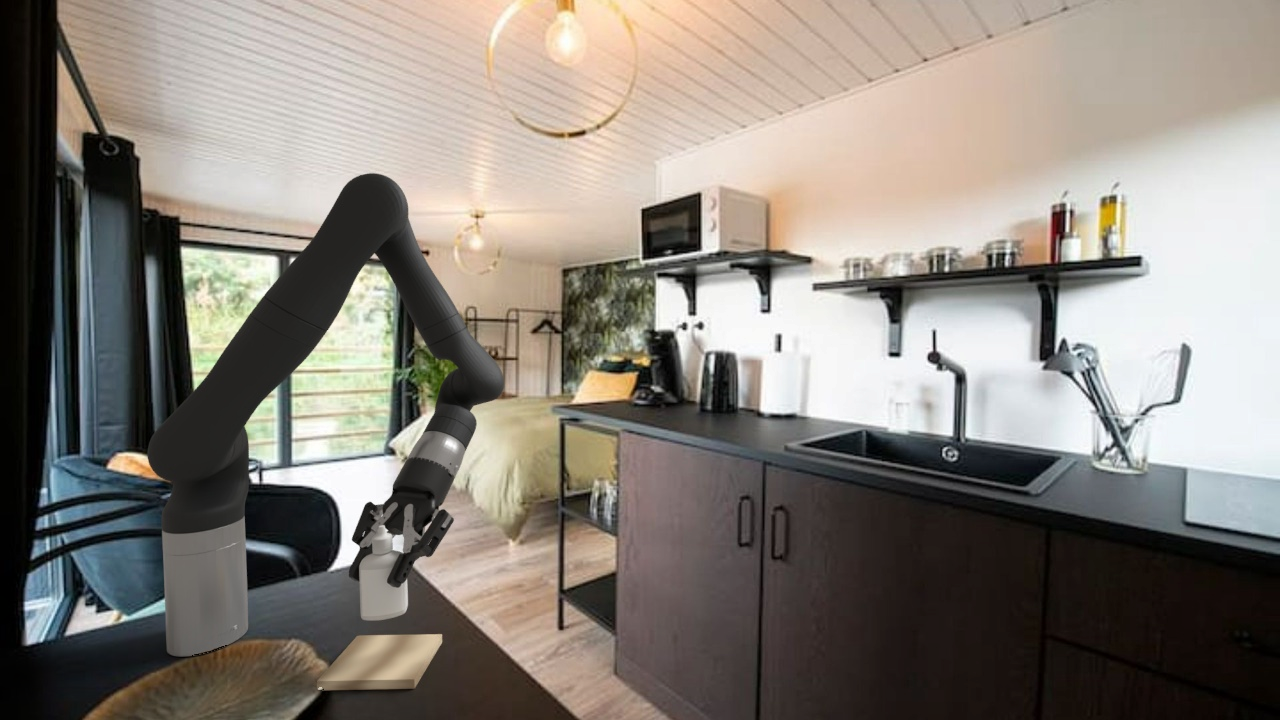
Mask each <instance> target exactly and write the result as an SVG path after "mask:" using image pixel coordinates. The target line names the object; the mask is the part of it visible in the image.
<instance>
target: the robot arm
mask: <svg viewBox="0 0 1280 720" xmlns="http://www.w3.org/2000/svg"><path fill="white" fill-rule="evenodd" d="M409 219H410V218H409V204H408V200H407V197H406V195H405V192H404V191H403V189H402V188H401V187H400V185H399V184H398V183H397V182H396V181H394V180H393V179H392V178H390V177H389V176H387V175H385V174H380V173H376V172H375V173H374V172H372V173H371V172H369V173H365V174H360V175H356V176H355V177H353V178H351V180H349V181H348V182H346V184H345V185H344V186H343V187H342V189H341V191H340V192H339V195H338V196H337V198H336V200H335V201H334V204H333V206H332V208H331V209H330V211H329V212H328V214H327V215H326V217H325V219H323V222H322V224H321V226H320V228H319V229H318V230H317V232H316V233H315V235H314V236H313V237H312V239H310V242H309V243H308V244H307V245H306V247H304V248H303V250H302V251H301V252H300V253H299V254H298V255H297V256H296V258H295V259H293V261H292V262H291V263H290V264H289V266H287V267H286V269H285V270H284V271H283V272H282V273H281V275H280V276H279V277H278V278H277V279H276V280H275V282H274V283H273V284H272V285H271V286H270V287H269V288H268V290H267V291H266V292H265V293H264V295H263V296H262V298H261V299H260V300H259V301H258V302H257V304H256V306H255V307H254V308H253V309H252V311H251V312H250V313H249V315H248V316H247V317H246V319H245V321H244V322H243V323H242V325H241V326H240V328H239V329H238V331H237V332H236V333H235V334H234V335H233V337H232V338H231V340H230V341H229V343H228V344H227V345H226V347H225V349H224V350H223V352H222V353H221V354H220V356H219V358H218V359H217V360H216V362H215V364H214V365H213V367H212V368H211V369H210V371H209V372H208V373H207V375H206V376H205V377H204V378H203V380H202V381H201V382H200V383H199V385H198V386H197V387H196V388H195V389H194V390H193V391H192V392H190V393H191V394H190V395H188V396H187V398H185V400H184V401H182V403H181V404H180V405H179V406H178V407H177V408H176V409H175V410H174V411H173V413H171V414H170V416H168V417H167V419H165V421H163V423H162V424H161V425H159V426H158V428H157V429H156V430H155V431H154V433H153V434H152V436H151V438H150V440H149V442H148V447H147V460H148V461H147V462H148V465H149V467H150V469H151V470H152V471H153V472H154V474H156V476H157V477H159V478H161V479H162V480H165V481H167V482H170V483H172V489H171V491H170V492H171V493H170V495H169V498H168V500H167V502H166V504H165V505H164V507H163V508H162V511H161V521H160V523H161V538H162V541H161V542H162V543H161V544H162V556H163V557H162V558H163V559H162V563H163V564H162V565H163V583H164V584H163V585H164V613H165V637H166V639H165V640H166V642H165V643H166V652H167V654H168V655H171V656H173V657H180V658H181V657H192V655H193V656H195V655H194V654H198V653H201V652H205V651H207V650H212V649H214V648H218V647H221V646H224V647H226V646H225V645H227V646H228V645H230V644H232V643H234V642H236V641H238V640H239V639H240V638H242V637H243V636H244V635H245V634H246V633H247V631H249V630H248V629H249V609H248V608H249V607H248V605H249V604H248V601H249V600H248V576H247V575H248V572H247V568H248V567H247V548H246V547H247V545H246V540H247V539H246V522H245V521H246V520H245V519H246V517H245V516H246V515H245V514H246V513H245V507H246V502H247V501H246V500H247V498H248V492H249V489H250V488H249V484H250V477H249V476H250V446H249V445H250V444H249V437H248V431H247V429H246V427H245V426H246V425H247V423H248V422H249V420H250V418H251V417H252V415H253V414H254V413H255V411H256V410H257V408H259V406H260V405H261V404H262V403H263V401H264V400H265V399H266V398H267V397H268V396H269V395H270V394H271V393H272V392H273V391H275V390H276V389H277V388H278V387H279V385H281V384H282V383H283V382H284V381H285V380H286V379H288V377H290V376H291V375H292V374H293V373H294V371H295V370H296V369H298V367H299V366H300V365H301V364H303V363H304V361H305V360H306V359H307V358H308V357H309V356H310V355H311V354H312V352H314V350H315V349H316V348H317V346H318V344H319V343H320V342H321V340H322V339H323V337H325V335H326V334H327V333H328V331H329V330H330V328H331V326H332V325H333V323H334V322H335V321H336V319H337V317H338V315H339V313H340V311H341V310H342V307H343V306H344V305H345V302H346V300H347V298H348V295H349V294H350V291H351V289H352V287H353V285H354V283H355V281H356V280H357V279H356V278H357V277H358V275H359V274H360V272H361V270H362V269H363V268H364V267H365V266H366V264H367V262H369V260H371V259H372V257H373V255H374V254H375V256H376V257H377V258H378V260H379V261H380V263H381V264H382V265H383V267H384V269H385V270H386V272H387V274H388V275H389V276H390V278H391V281H392V282H393V284H394V286H395V287H396V289H397V292H398V294H399V296H400V298H401V300H402V303H403V304H404V306H405V308H406V310H407V313H408V314H409V316H410V319H411V320H412V323H413V324H414V325H415V328H416V329H417V332H418V333H419V335H420V337H421V339H422V340H423V342H424V344H425V345H426V346H427V349H428V351H429V352H430V354H431V355H432V356H433V357H434V358H435V359H436V360H442V361H450V362H451V363H452V364H454V365H455V367H456V368H455V369H453V370H452V371H450V372H449V373H448V374H447V375H446V377H445V378H444V379H443V381H442V382H441V385H440V387H439V391H438V395H437V398H436V401H435V402H436V403H435V407H434V411H433V415H432V416H431V418H430V420H429V421H428V423H427V425H426V427H425V429H424V430H423V432H422V434H421V436H420V438H419V439H418V440H417V441H416V443H415V444H414V446H413V447H412V449H411V451H410V452H409V455H408V457H407V458H406V460H405V462H404V464H403V465H402V468H401V469H400V471H399V473H398V474H397V477H396V479H395V480H394V481H393V484H392V493H391V495H390V497H389V498H388V499H386V500H385V501H384V503H381V504H379V503H378V504H374V503H373V502H372V501H368V502H366V503H365V505H364V507H363V509H362V512H361V515H360V517H359V520H358V522H357V524H356V527H355V530H354V532H353V535H352V538H351V541H352V542H353V543H355V544H356V545H357V546H358V547H359V550H358V552H357V554H356V556H355V558H354V559H353V562H352V564H351V565H350V566H349V569H348V570H349V571H348V577H349V578H350V579H352V580H353V581H354V582H358V583H360V581H359V566H360V563H361V561H362V559H363V558H364V557H366V556H368V555H370V554H372V553H373V551H372V538H373V537H374V536H375V535H377V534H378V529H379V526H381V525H385V529H386V532H387V533H390V534H392V540H393V539H394V538H395V537H396V536H401V535H402V537H403V546H402V547H403V548H402V553H403V554H399V556H398V558H397V560H396V562H395V564H394V566H393V568H392V570H391V572H390V574H389V576H388V579H387V583H388V584H389V585H391V586H392V587H396V588H399V587H400V586H401V584H402V583H404V582H405V581H406V579H407V580H408V578H409V574H410V573H411V571H412V568H413V566H414V564H415V562H416V561H418V560H419V559H420V558H423V557H426V558H430V557H432V556H433V555H434V553H435V552H436V550H437V549H438V547H439V545H440V543H442V541H443V539H444V538H445V536H446V535H447V532H448V531H449V529H450V528H451V526H452V525H453V523H454V521H455V518H454V517H453V516H452V514H450V513H449V511H447V510H446V509H445V508H442V509H439V508H440V507H441V506H442V505H443V504H444V502H445V501H446V499H447V496H448V493H449V491H450V489H451V487H452V485H453V483H454V482H455V479H456V477H457V475H458V473H459V470H460V468H461V465H462V463H463V460H464V457H465V454H466V451H467V449H468V447H469V445H470V443H471V442H472V441H471V440H472V438H473V436H474V434H475V431H476V428H477V419H476V416H475V415H474V413H473V412H471V410H472V409H473V408H474V406H477V405H481V404H485V403H489V402H492V401H494V400H497V399H498V398H499V397H500V396H501V395H502V393H503V391H504V387H505V378H504V374H503V372H502V369H501V367H500V366H499V364H498V363H497V361H496V360H495V359H494V358H493V357H492V356H491V355H490V354H489V352H488V351H487V350H486V349H485V348H484V347H483V346H482V344H480V342H478V341H477V340H476V339H475V337H474V336H473V335H472V334H471V333H470V331H469V328H468V327H467V326H466V323H465V321H464V319H463V317H462V316H461V313H460V312H459V310H458V309H457V307H456V305H455V303H454V302H453V300H452V299H451V297H450V296H449V294H448V293H447V290H445V288H444V286H443V284H442V283H441V281H440V280H439V279H438V277H437V275H436V274H435V272H434V271H433V269H432V268H431V267H430V265H429V263H428V262H427V260H426V258H425V256H424V254H423V252H422V250H421V248H420V245H419V243H418V241H417V238H416V235H415V233H414V230H413V227H412V224H411V222H410V220H409ZM428 525H429V526H428ZM426 526H428V527H427V529H426Z"/></svg>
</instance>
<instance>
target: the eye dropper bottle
mask: <svg viewBox="0 0 1280 720" xmlns="http://www.w3.org/2000/svg"><path fill="white" fill-rule="evenodd" d="M393 545H394V544H393V539H392V534H390V533H387V529H386V528H385V525H381V526H379V529H378V534H377V535H375V536H374V537H373V538H372V551H373V553H372V554H370V555H368V556H366V557H364V558H363V559H362V561H361V563H360V566H359V581H360V582H359V604H360V605H359V606H360V609H359V610H360V618H361V619H362V620H363V621H368V622H369V621H372V622H373V621H382V620H383V621H384V620H389V619H392V618H397V617H399V616H402V615H404V614H405V613H406V612H407V609H408V607H409V592H408V578H407V579H406V581H405V582H404V583H402V584H401V586H400V587H399V588H396V587H392V586H391V585H389V584H388V583H387V579H388V576H389V574H390V572H391V570H392V568H393V566H394V564H395V562H396V560H397V558H398V556H399V554H403V553H404V552H403V551H399V550H395V549H394V547H393ZM393 549H394V550H393Z"/></svg>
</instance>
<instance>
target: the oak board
mask: <svg viewBox="0 0 1280 720" xmlns="http://www.w3.org/2000/svg"><path fill="white" fill-rule="evenodd" d="M442 643H443V634H442V633H437V634H436V633H435V634H430V633H429V634H428V633H426V634H377V635H376V634H372V635H371V634H370V635H368V634H367V635H366V634H365V635H357V636H355V638H354V639H353V640H352V641H351V642H350V644H349V645H348V646H347V647H346V648H345V649H344V650H343V651H342V653H340V655H339V656H337V658H336V659H335V660H334V661H333V663H332V664H330V666H329V667H327V669H326V670H325V671H324V672H323V674H322V675H321V676H320V677H319V678H318V679H317V681H316V689H317V688H319V687H322V688H324V690H323V691H353V690H354V691H355V690H363V691H365V690H408V689H410V690H411V689H413V690H414V689H416V687H417V686H418V683H419V682H420V680H421V678H422V677H423V675H424V674H425V672H426V670H427V668H428V667H429V665H430V663H431V661H432V660H433V659H434V657H435V655H436V654H437V652H438V651H439V649H440V646H442Z"/></svg>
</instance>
